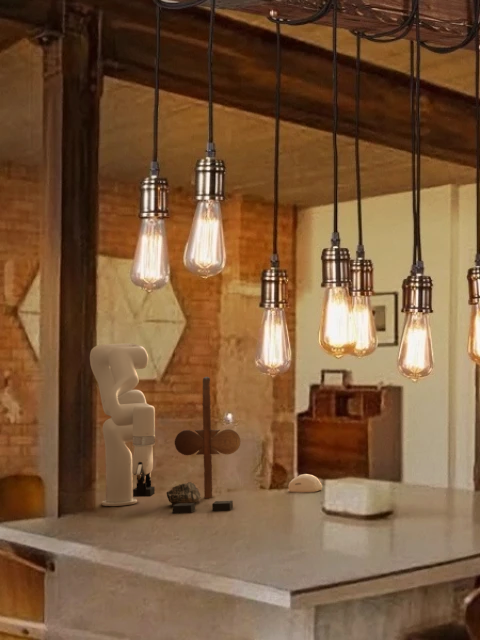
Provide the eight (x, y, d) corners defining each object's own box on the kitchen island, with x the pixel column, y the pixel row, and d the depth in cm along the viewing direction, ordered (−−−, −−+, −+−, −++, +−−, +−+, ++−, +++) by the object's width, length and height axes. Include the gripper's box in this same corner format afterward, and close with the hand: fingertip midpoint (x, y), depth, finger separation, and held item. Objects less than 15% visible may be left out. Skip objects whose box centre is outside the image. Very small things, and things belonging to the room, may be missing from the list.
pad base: (176, 510, 377) (176, 503, 377) (195, 510, 377) (195, 502, 377) (172, 513, 371) (172, 506, 371) (191, 512, 370) (191, 505, 371)
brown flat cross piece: (242, 496, 406) (239, 375, 410) (239, 498, 402) (236, 376, 407) (178, 497, 410) (176, 377, 414) (174, 498, 406) (172, 378, 411)
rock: (200, 499, 384) (181, 478, 385) (179, 518, 383) (160, 497, 383) (206, 493, 402) (188, 473, 403) (186, 511, 401) (168, 490, 402)
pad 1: (137, 493, 380) (137, 486, 380) (154, 493, 380) (154, 486, 380) (133, 496, 374) (133, 489, 374) (150, 496, 374) (150, 489, 374)
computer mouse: (292, 489, 421) (292, 473, 422) (324, 489, 418) (323, 473, 418) (286, 491, 415) (286, 475, 416) (318, 491, 412) (318, 475, 412)
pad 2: (215, 508, 378) (215, 501, 379) (232, 507, 378) (232, 500, 379) (212, 511, 372) (212, 503, 373) (229, 510, 372) (229, 503, 373)
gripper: (139, 438, 387) (139, 489, 386) (126, 444, 370) (126, 497, 369) (160, 438, 387) (160, 489, 386) (148, 444, 370) (148, 497, 368)
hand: (143, 492), depth 377 cm, fingers closed on pad 1, 6 cm apart
